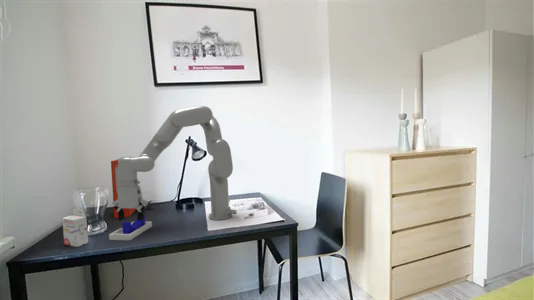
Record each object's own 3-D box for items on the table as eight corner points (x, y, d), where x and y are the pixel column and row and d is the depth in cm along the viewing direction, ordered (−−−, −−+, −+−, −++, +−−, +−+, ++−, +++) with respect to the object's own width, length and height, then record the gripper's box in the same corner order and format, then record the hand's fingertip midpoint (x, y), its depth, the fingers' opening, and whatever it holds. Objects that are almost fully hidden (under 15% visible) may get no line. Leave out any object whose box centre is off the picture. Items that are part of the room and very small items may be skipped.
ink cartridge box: (63, 245, 113) (60, 211, 112) (75, 240, 118) (72, 207, 117) (77, 247, 110) (74, 212, 109) (89, 242, 115) (86, 209, 114)
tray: (152, 226, 132) (151, 221, 132) (130, 240, 115) (129, 234, 115) (133, 226, 134) (133, 221, 133) (109, 240, 117) (108, 234, 117)
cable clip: (136, 226, 131) (135, 214, 131) (145, 226, 131) (144, 214, 130) (120, 235, 120) (119, 222, 119) (129, 236, 119) (128, 223, 119)
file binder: (137, 208, 167) (134, 157, 165) (130, 216, 150) (126, 160, 148) (123, 209, 165) (120, 158, 163) (114, 218, 148) (110, 161, 146)
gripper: (150, 181, 126) (152, 217, 127) (117, 182, 128) (119, 217, 129) (141, 185, 118) (143, 222, 119) (105, 185, 120) (108, 222, 122)
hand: (131, 219), depth 124 cm, fingers open, 9 cm apart
